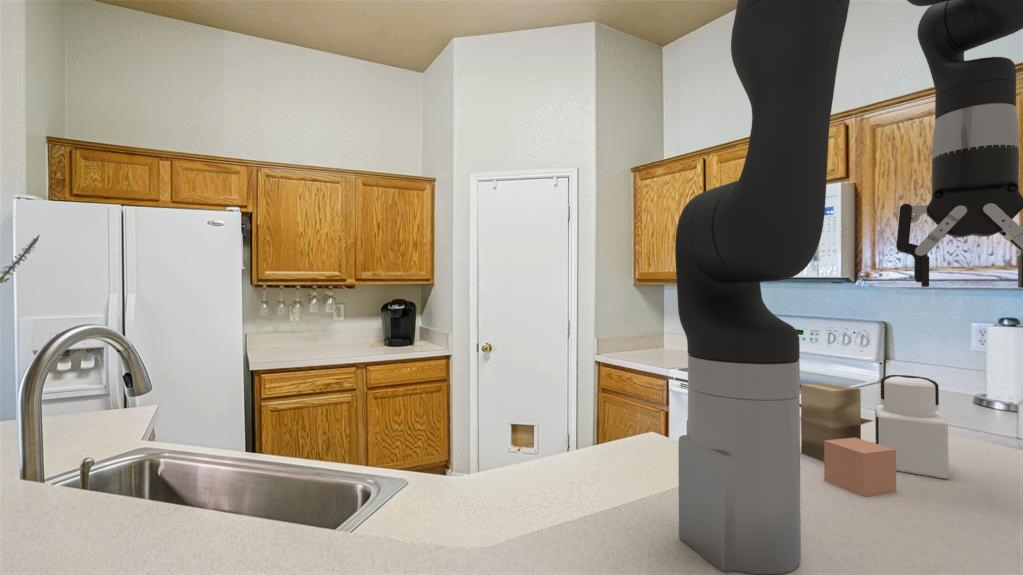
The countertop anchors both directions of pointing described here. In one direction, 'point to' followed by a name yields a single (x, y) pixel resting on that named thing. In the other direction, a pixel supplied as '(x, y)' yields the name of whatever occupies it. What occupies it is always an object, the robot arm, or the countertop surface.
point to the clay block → (860, 466)
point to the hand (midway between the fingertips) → (972, 287)
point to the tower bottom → (823, 437)
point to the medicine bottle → (913, 425)
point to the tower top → (831, 404)
